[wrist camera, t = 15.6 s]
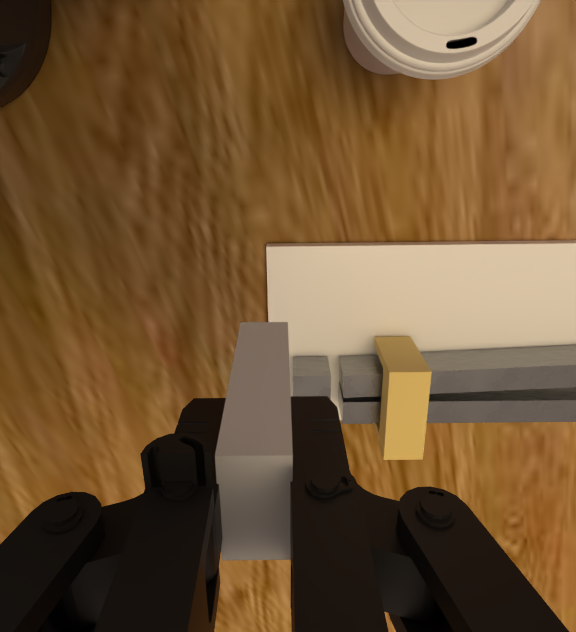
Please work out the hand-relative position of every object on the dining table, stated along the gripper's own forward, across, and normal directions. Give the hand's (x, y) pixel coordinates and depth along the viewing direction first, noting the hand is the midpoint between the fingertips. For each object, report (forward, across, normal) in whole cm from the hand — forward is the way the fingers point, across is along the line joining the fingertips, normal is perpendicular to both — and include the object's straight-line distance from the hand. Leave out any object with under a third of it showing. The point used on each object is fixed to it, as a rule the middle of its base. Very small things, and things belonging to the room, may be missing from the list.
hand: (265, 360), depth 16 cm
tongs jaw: (+23, +17, -12) cm, 31 cm away
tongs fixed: (+23, +15, -14) cm, 31 cm away
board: (+24, +16, -10) cm, 31 cm away
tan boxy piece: (+23, +10, -13) cm, 28 cm away
